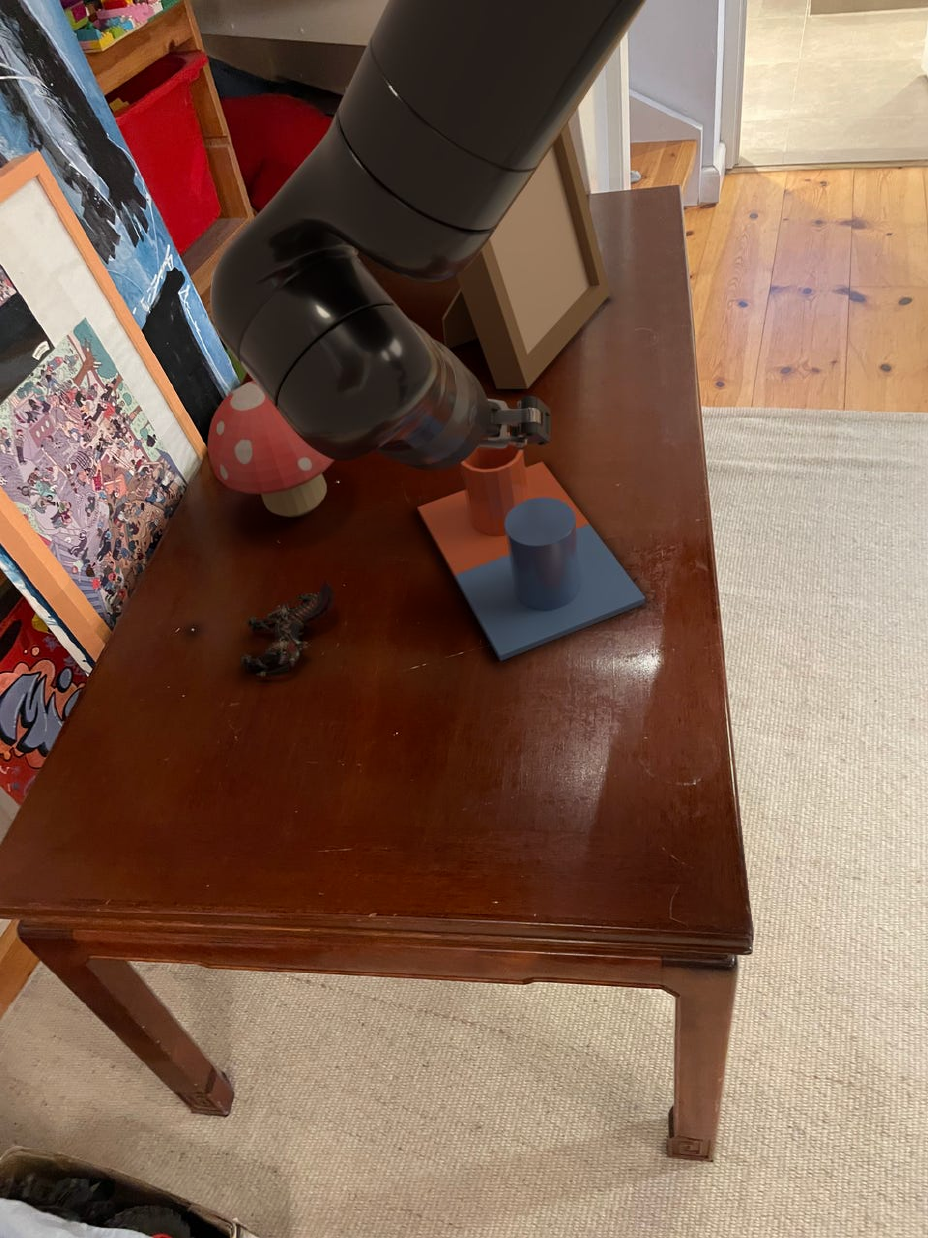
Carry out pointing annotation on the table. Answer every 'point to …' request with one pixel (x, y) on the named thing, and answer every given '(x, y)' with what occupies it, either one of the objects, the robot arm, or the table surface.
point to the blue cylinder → (543, 553)
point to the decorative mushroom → (265, 454)
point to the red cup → (493, 486)
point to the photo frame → (532, 275)
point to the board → (490, 580)
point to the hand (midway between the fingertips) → (468, 438)
